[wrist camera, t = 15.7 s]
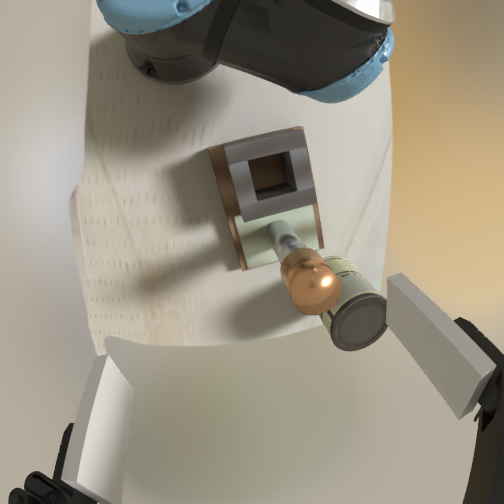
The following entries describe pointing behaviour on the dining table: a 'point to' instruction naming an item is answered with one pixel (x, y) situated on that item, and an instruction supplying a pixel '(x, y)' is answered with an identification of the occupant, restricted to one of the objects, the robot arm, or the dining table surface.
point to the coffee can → (354, 309)
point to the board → (267, 191)
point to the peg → (303, 271)
